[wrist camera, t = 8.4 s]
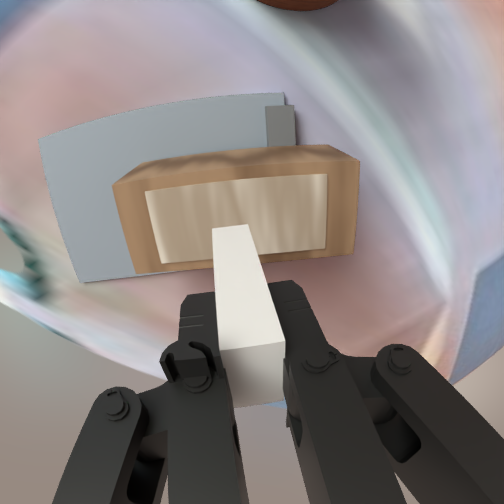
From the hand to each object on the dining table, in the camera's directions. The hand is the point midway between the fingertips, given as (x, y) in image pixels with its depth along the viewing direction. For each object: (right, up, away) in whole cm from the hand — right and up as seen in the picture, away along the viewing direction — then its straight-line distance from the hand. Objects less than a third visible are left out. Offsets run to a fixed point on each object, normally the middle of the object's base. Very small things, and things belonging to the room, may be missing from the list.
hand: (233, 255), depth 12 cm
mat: (-5, +5, +9) cm, 12 cm away
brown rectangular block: (+7, +4, +6) cm, 10 cm away
